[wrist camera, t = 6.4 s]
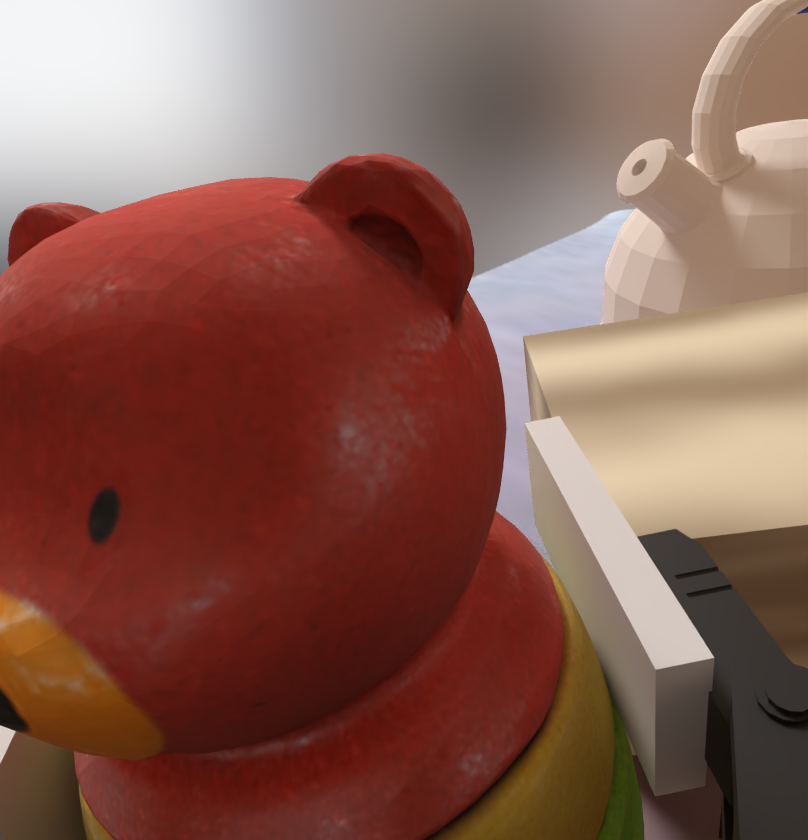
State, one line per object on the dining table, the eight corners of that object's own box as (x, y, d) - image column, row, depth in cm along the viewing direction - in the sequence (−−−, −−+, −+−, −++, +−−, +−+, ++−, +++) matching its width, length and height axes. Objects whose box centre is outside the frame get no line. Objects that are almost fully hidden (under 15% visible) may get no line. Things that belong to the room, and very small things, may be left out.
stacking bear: (103, 1093, 15) (-651, 363, 6) (355, 717, 22) (168, 141, 13) (592, 1591, 9) (-180, 1176, 1) (715, 869, 16) (787, 48, 8)
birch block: (1097, 717, 18) (1219, 474, 14) (608, 761, 19) (599, 550, 16) (836, 458, 29) (864, 283, 26) (538, 496, 31) (523, 336, 27)
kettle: (534, 330, 47) (508, 39, 38) (764, 253, 52) (787, -20, 43) (775, 459, 30) (827, -14, 21) (1082, 325, 35) (1224, -100, 26)
